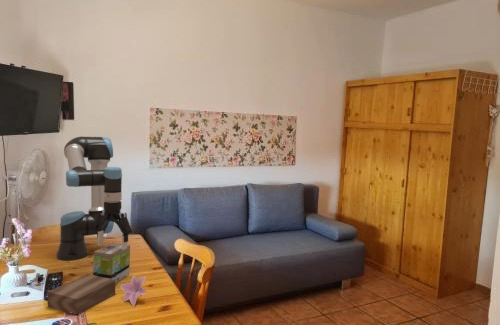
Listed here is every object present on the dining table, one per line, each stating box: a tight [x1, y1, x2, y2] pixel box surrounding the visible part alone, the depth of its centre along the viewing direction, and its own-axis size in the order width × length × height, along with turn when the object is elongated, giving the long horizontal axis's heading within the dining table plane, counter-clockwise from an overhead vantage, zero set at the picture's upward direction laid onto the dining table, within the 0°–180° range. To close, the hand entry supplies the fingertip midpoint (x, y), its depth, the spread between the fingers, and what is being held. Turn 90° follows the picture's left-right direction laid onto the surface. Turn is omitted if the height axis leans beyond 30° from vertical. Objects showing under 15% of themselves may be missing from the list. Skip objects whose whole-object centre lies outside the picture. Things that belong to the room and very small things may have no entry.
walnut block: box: [47, 273, 116, 315], centre depth 148 cm, size 15×20×6 cm
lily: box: [120, 274, 147, 307], centre depth 151 cm, size 12×12×10 cm
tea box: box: [92, 242, 131, 284], centre depth 170 cm, size 15×10×15 cm, turn 168°
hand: (112, 247), depth 169 cm, fingers open, 13 cm apart
